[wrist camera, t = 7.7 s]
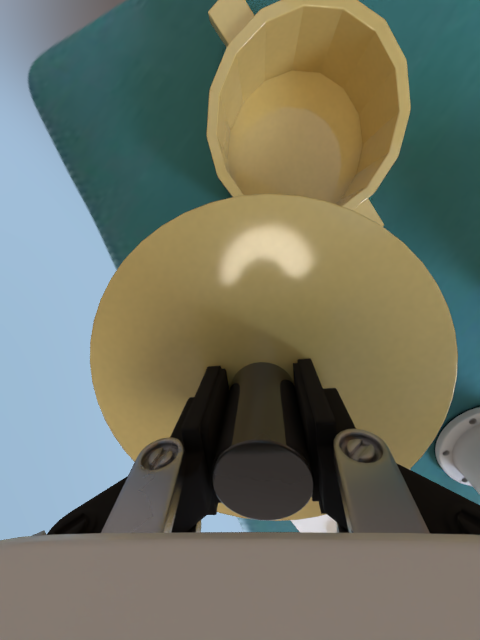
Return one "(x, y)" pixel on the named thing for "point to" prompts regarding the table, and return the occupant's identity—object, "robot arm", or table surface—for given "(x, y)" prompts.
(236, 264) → the lid
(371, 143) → the pot
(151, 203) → the table surface
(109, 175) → the table surface
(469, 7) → the table surface
